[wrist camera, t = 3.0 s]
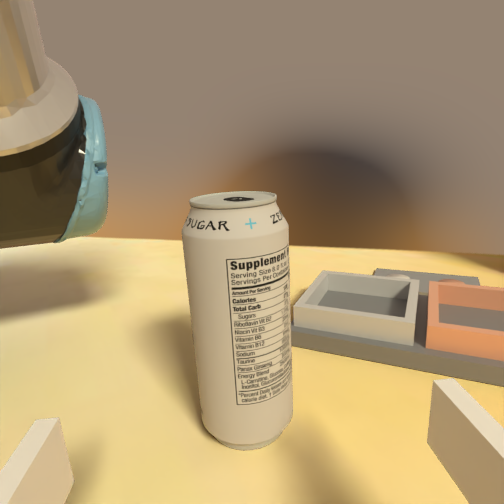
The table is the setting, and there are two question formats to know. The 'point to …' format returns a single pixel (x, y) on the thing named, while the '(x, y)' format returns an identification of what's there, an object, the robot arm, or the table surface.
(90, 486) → the table surface
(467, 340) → the socket plate
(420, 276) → the grey button plate
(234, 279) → the energy drink can
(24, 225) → the robot arm
